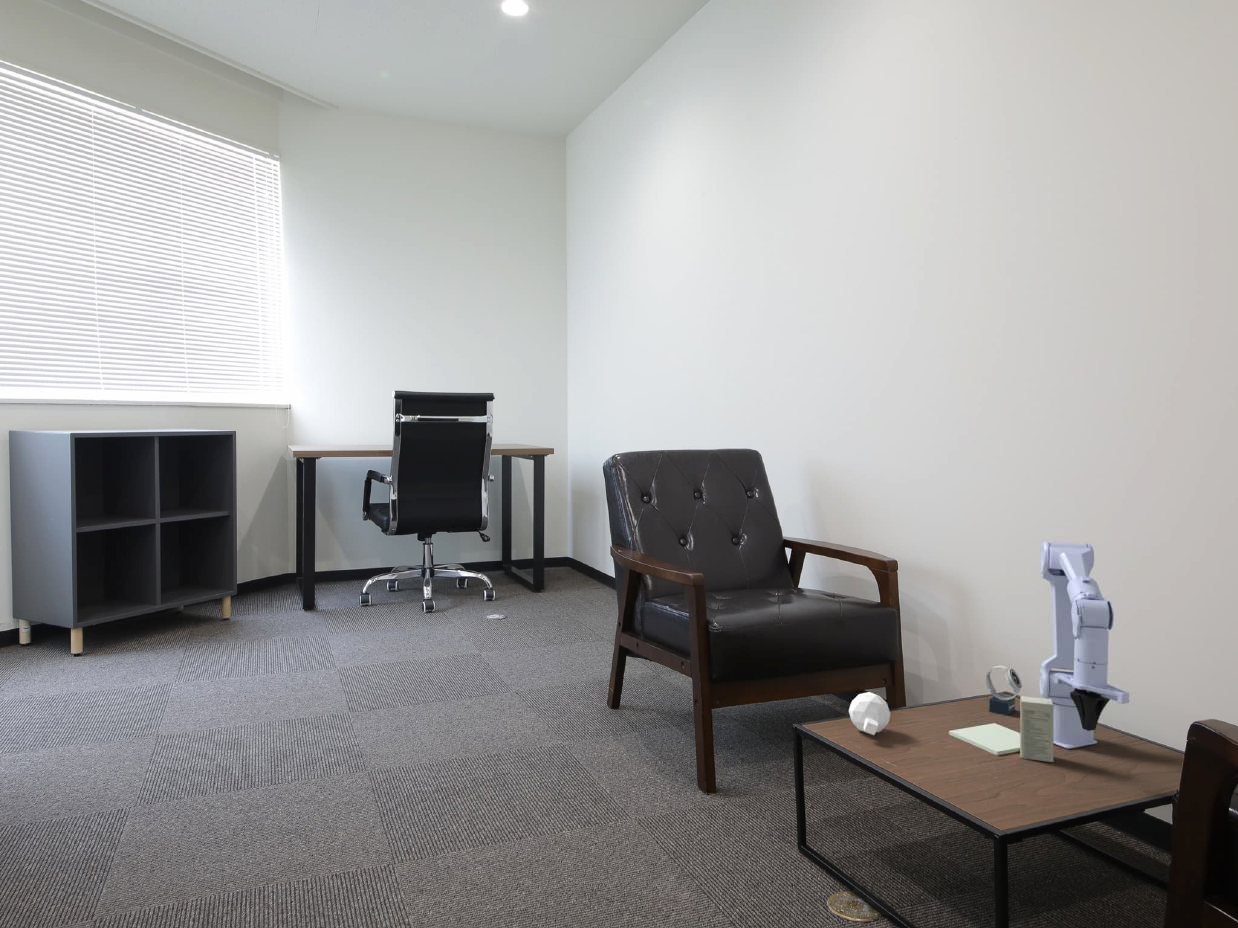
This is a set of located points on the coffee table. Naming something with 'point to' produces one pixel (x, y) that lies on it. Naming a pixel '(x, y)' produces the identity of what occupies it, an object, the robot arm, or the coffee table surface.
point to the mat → (990, 738)
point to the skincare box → (1036, 728)
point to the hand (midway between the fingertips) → (1088, 729)
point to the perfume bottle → (869, 713)
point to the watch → (1001, 702)
